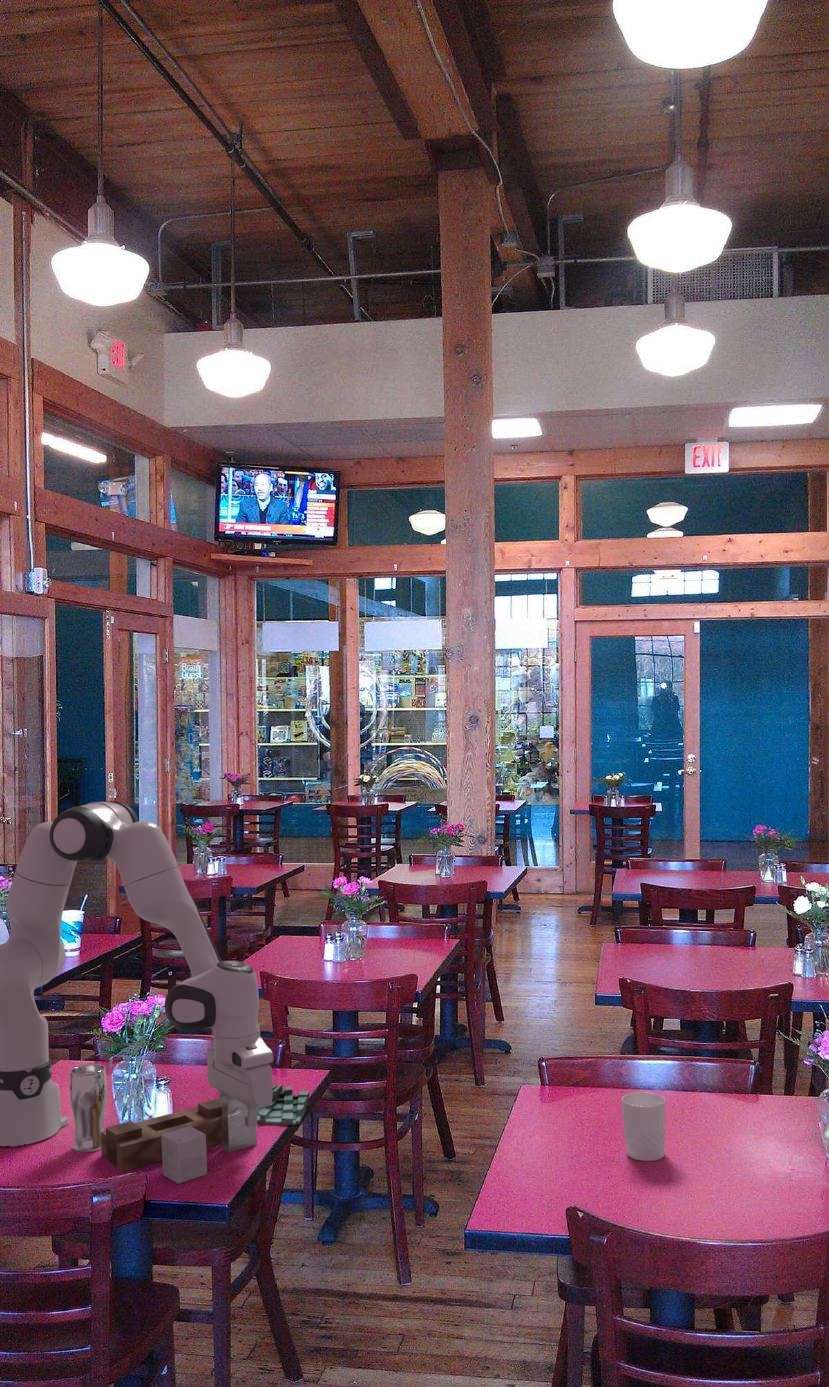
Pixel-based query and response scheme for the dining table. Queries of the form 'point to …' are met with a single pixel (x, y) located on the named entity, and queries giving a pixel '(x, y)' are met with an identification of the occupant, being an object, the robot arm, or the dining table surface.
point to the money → (284, 1107)
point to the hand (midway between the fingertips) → (239, 1119)
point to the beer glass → (88, 1105)
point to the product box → (184, 1154)
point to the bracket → (236, 1125)
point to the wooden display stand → (158, 1135)
